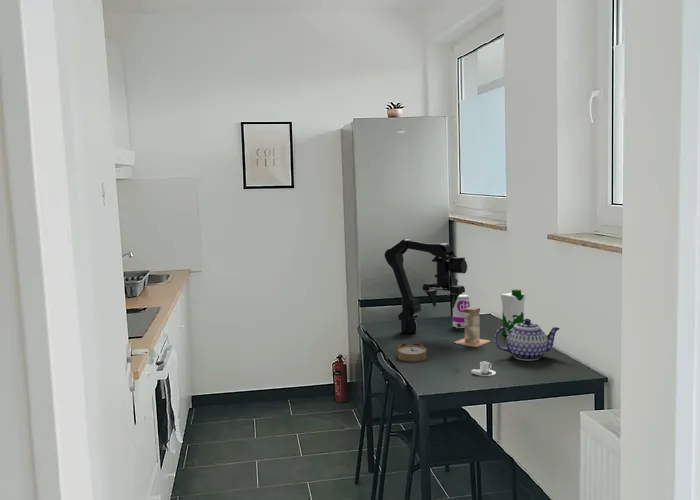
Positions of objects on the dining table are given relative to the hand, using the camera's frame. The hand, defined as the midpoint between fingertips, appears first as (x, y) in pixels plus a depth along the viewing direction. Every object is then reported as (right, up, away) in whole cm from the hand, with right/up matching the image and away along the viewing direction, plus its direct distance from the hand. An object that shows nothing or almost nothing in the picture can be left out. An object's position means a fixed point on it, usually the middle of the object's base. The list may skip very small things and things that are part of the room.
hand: (443, 307), depth 289 cm
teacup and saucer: (+4, -19, -52) cm, 56 cm away
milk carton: (+31, -12, +3) cm, 33 cm away
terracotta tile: (+11, -14, -10) cm, 20 cm away
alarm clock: (-17, -17, -30) cm, 38 cm away
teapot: (+27, -16, -35) cm, 47 cm away
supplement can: (+11, -11, +20) cm, 25 cm away
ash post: (+11, -13, -10) cm, 20 cm away
